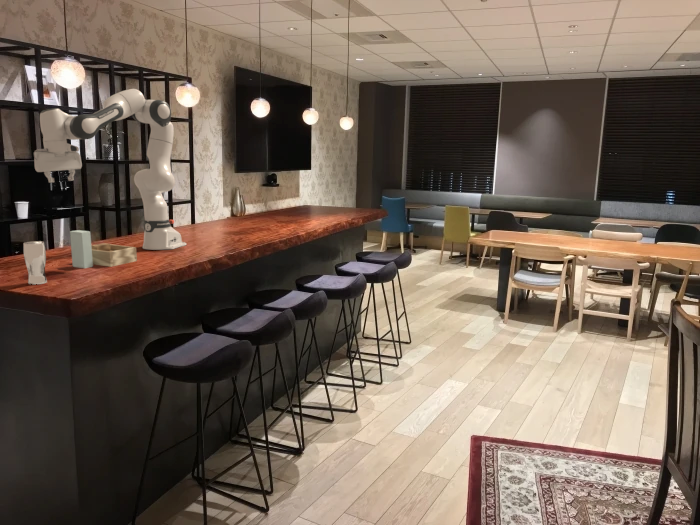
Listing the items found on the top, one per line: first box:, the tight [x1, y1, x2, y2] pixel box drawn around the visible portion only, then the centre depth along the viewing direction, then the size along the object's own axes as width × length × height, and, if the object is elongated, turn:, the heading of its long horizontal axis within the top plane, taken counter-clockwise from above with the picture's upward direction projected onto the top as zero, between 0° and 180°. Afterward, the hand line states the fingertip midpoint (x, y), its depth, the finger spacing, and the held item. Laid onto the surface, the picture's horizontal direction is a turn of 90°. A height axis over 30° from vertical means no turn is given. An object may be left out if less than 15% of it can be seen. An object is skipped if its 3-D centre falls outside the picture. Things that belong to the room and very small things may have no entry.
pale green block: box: [69, 229, 94, 269], centre depth 229 cm, size 4×7×15 cm, turn 65°
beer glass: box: [23, 240, 48, 286], centre depth 205 cm, size 7×7×15 cm
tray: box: [92, 243, 138, 268], centre depth 240 cm, size 14×18×7 cm
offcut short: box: [91, 242, 111, 251], centre depth 242 cm, size 7×4×3 cm, turn 155°
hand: (61, 181), depth 237 cm, fingers open, 8 cm apart
